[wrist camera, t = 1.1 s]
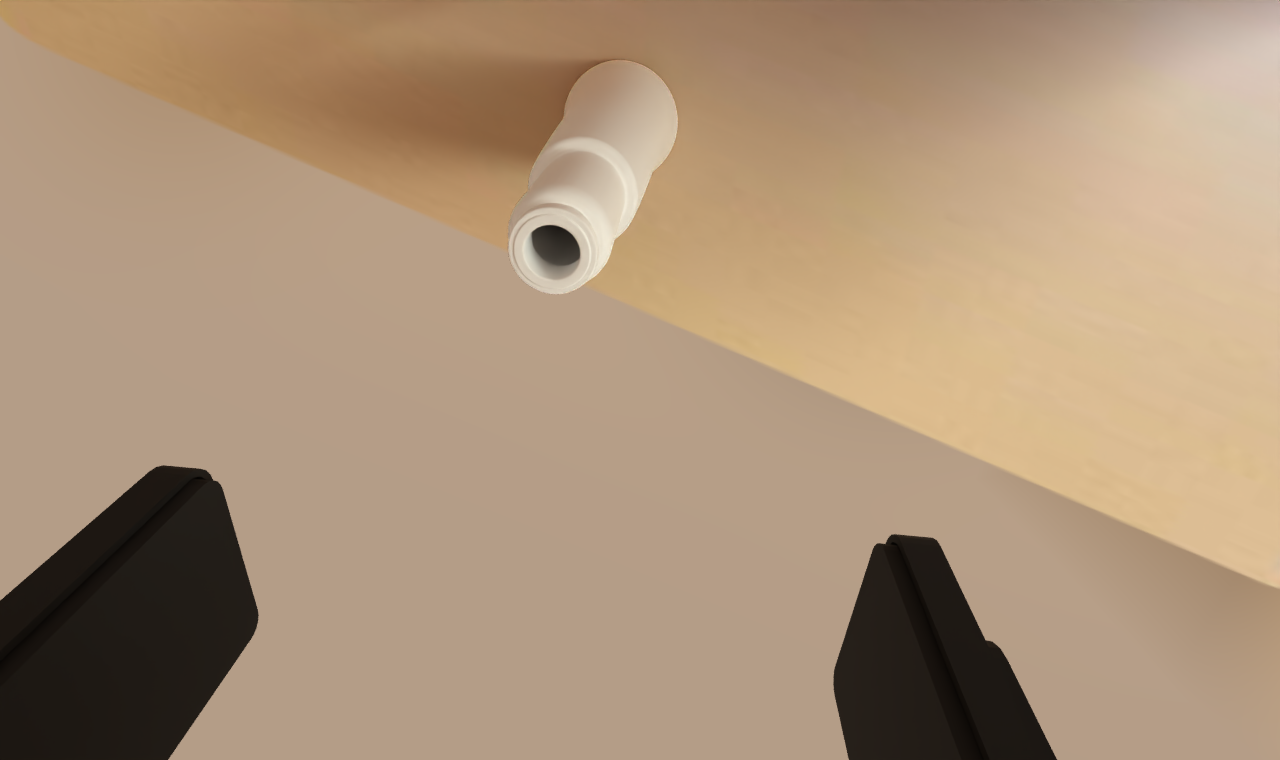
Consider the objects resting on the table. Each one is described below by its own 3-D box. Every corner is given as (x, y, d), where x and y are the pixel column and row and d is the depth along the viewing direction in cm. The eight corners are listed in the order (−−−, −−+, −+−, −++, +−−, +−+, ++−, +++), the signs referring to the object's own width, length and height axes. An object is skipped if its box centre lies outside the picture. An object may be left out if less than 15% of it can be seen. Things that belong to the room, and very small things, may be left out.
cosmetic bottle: (647, 198, 38) (613, 396, 18) (547, 150, 37) (400, 304, 17) (697, 93, 35) (720, 195, 16) (591, 37, 34) (474, 72, 15)
